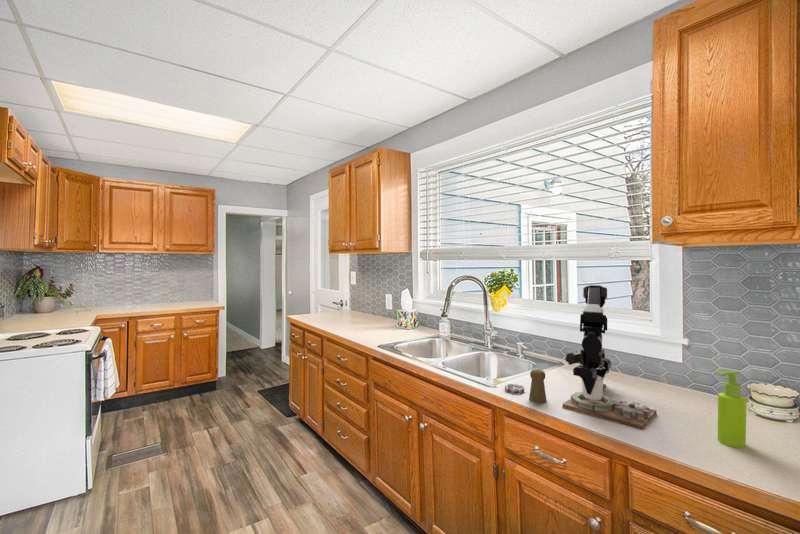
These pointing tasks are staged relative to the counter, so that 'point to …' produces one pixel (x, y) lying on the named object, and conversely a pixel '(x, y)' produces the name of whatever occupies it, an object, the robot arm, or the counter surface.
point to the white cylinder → (594, 389)
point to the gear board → (612, 410)
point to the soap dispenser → (731, 413)
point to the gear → (514, 388)
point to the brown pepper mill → (537, 387)
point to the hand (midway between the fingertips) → (592, 391)
